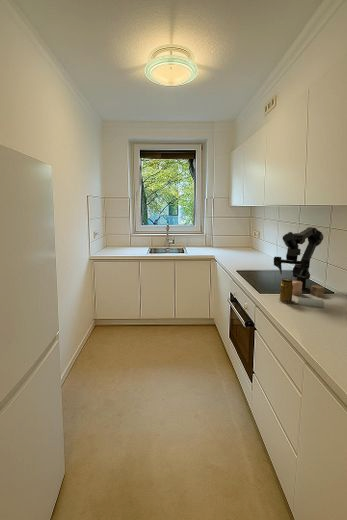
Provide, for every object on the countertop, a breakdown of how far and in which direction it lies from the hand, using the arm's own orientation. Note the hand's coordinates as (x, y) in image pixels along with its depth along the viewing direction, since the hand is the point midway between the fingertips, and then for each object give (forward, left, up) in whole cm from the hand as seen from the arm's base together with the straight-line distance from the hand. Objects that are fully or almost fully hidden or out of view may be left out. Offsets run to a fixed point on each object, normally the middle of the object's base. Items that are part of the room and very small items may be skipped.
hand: (289, 275), depth 168 cm
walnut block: (-5, +19, -13) cm, 23 cm away
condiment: (+6, -3, -13) cm, 15 cm away
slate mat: (+9, +8, -13) cm, 18 cm away
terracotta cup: (-8, +8, -13) cm, 17 cm away
